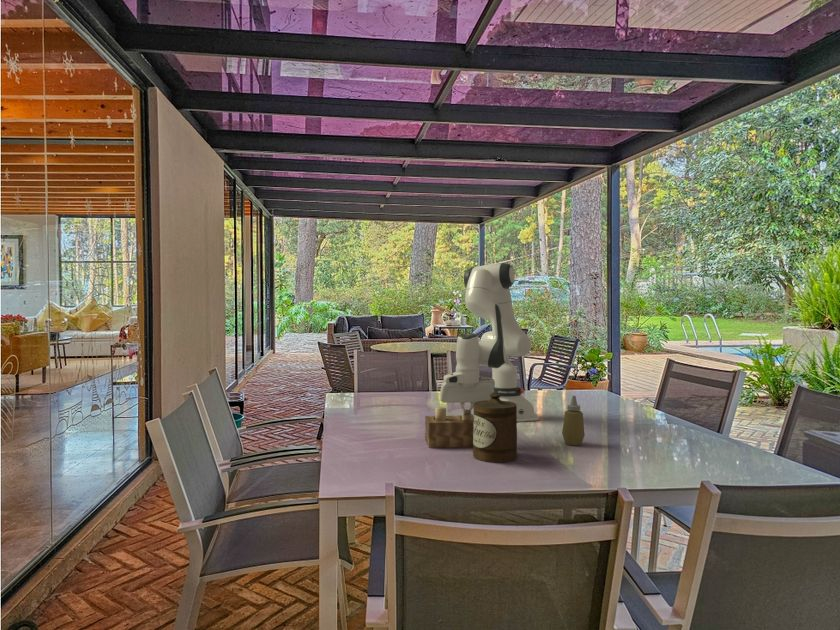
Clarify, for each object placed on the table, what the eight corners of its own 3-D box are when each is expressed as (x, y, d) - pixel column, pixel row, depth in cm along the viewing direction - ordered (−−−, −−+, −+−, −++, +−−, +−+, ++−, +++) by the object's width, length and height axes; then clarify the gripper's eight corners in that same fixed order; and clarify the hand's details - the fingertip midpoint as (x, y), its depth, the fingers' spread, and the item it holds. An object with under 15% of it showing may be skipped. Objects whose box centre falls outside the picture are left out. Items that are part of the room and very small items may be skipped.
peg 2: (471, 434, 218) (471, 413, 217) (473, 436, 214) (473, 415, 213) (460, 434, 217) (461, 413, 217) (462, 437, 213) (462, 415, 213)
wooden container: (465, 453, 201) (466, 390, 200) (502, 449, 207) (502, 387, 206) (486, 464, 188) (487, 397, 187) (525, 460, 193) (526, 394, 193)
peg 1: (445, 428, 216) (445, 407, 216) (446, 431, 212) (446, 409, 212) (434, 428, 216) (434, 407, 216) (435, 431, 212) (436, 409, 212)
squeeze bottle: (572, 447, 209) (573, 398, 209) (557, 442, 216) (558, 394, 216) (589, 445, 213) (590, 396, 212) (573, 440, 220) (574, 393, 220)
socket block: (476, 438, 222) (477, 415, 222) (483, 446, 210) (483, 421, 210) (425, 439, 220) (425, 415, 220) (429, 447, 208) (429, 422, 208)
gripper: (493, 376, 219) (492, 412, 219) (439, 376, 217) (438, 412, 217) (496, 378, 213) (496, 415, 213) (441, 378, 210) (441, 416, 211)
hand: (466, 414), depth 215 cm, fingers closed, pressing on peg 2
